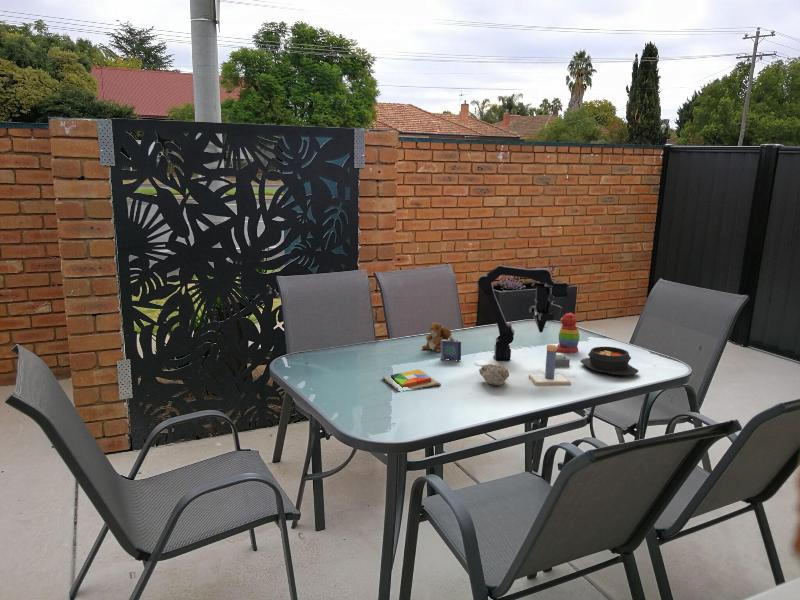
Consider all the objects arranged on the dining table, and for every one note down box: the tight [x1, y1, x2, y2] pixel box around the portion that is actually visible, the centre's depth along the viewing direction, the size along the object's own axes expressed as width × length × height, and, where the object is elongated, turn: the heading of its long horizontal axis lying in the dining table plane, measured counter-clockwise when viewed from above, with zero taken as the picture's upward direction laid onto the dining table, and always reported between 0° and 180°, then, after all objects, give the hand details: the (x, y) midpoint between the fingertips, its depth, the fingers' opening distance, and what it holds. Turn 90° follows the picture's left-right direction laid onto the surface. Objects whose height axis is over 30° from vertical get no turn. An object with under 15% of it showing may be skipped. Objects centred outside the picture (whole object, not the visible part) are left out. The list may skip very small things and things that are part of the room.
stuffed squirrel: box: [421, 321, 452, 353], centre depth 283 cm, size 10×14×13 cm
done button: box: [556, 352, 565, 359], centre depth 260 cm, size 4×4×4 cm
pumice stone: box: [478, 363, 510, 386], centre depth 233 cm, size 14×12×8 cm
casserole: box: [579, 346, 639, 376], centre depth 251 cm, size 25×19×8 cm
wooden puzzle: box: [381, 368, 442, 391], centre depth 236 cm, size 18×19×4 cm
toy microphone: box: [544, 344, 558, 379], centre depth 236 cm, size 4×4×13 cm
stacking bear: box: [556, 311, 580, 354], centre depth 280 cm, size 11×10×18 cm
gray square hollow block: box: [555, 354, 571, 367], centre depth 260 cm, size 7×7×3 cm
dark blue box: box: [440, 335, 462, 362], centre depth 265 cm, size 9×3×11 cm, turn 71°
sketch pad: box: [528, 373, 572, 386], centre depth 238 cm, size 14×10×1 cm
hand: (540, 332), depth 262 cm, fingers closed
